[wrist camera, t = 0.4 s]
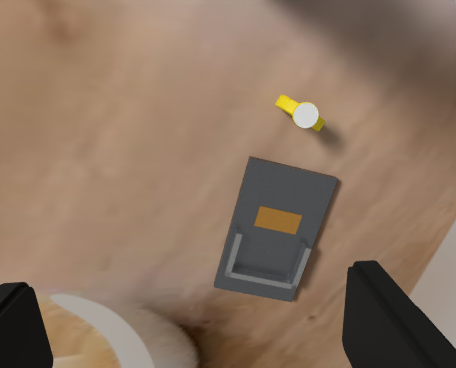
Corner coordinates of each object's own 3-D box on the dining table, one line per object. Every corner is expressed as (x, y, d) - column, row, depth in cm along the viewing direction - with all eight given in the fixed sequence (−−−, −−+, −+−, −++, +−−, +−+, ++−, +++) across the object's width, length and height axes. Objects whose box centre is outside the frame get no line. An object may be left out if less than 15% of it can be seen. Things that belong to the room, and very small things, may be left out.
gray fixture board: (249, 156, 42) (251, 161, 39) (334, 176, 43) (342, 182, 41) (214, 282, 48) (214, 294, 45) (289, 297, 49) (293, 308, 47)
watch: (320, 113, 41) (337, 119, 35) (307, 132, 41) (322, 141, 36) (281, 88, 39) (292, 90, 34) (268, 108, 40) (277, 113, 34)
